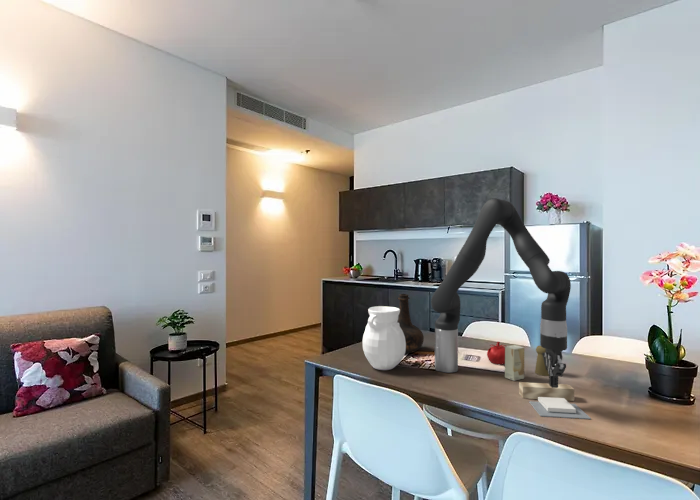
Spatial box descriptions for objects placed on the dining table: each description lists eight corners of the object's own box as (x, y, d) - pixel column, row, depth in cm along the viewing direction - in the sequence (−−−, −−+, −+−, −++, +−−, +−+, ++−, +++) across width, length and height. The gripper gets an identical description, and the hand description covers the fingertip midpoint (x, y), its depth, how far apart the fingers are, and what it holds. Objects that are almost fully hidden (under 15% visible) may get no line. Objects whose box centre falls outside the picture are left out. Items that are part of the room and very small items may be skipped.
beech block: (522, 398, 120) (522, 386, 120) (519, 393, 124) (519, 382, 124) (574, 401, 118) (574, 389, 118) (568, 396, 122) (568, 384, 122)
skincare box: (513, 381, 136) (513, 349, 135) (504, 377, 139) (504, 346, 139) (525, 378, 138) (525, 347, 138) (515, 374, 142) (515, 344, 142)
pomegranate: (515, 363, 157) (516, 342, 156) (502, 367, 151) (502, 346, 151) (495, 357, 165) (495, 337, 165) (482, 361, 159) (482, 340, 159)
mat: (540, 416, 108) (540, 415, 108) (528, 402, 117) (528, 401, 117) (591, 419, 106) (591, 418, 106) (574, 404, 115) (574, 403, 115)
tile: (537, 400, 118) (547, 417, 110) (538, 391, 117) (548, 408, 109) (563, 401, 117) (575, 419, 109) (564, 392, 116) (576, 409, 108)
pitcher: (385, 377, 140) (384, 314, 140) (353, 366, 154) (353, 308, 154) (415, 366, 153) (414, 308, 152) (383, 357, 166) (383, 303, 166)
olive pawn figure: (554, 376, 140) (554, 348, 140) (537, 375, 142) (537, 347, 141) (548, 371, 146) (548, 344, 146) (532, 370, 148) (532, 343, 147)
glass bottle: (430, 350, 177) (430, 293, 177) (410, 358, 164) (409, 297, 164) (400, 343, 189) (400, 291, 189) (379, 350, 176) (379, 294, 176)
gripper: (533, 328, 122) (533, 378, 122) (549, 338, 109) (549, 394, 109) (557, 328, 121) (557, 379, 121) (576, 338, 108) (576, 396, 108)
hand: (553, 386), depth 115 cm, fingers closed
